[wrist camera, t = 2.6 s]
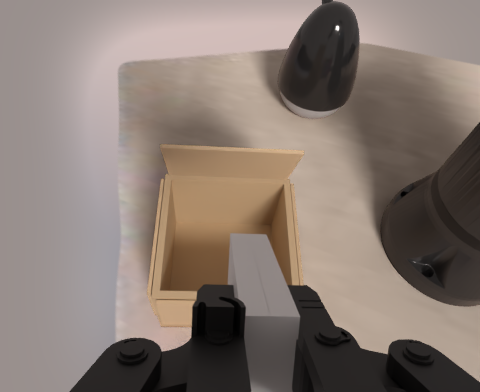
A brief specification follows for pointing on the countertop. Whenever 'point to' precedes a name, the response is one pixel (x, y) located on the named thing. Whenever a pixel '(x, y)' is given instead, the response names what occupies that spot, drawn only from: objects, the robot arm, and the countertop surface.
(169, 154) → the front flap
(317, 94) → the pump dispenser
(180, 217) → the carton
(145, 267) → the countertop surface
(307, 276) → the countertop surface
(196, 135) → the countertop surface
